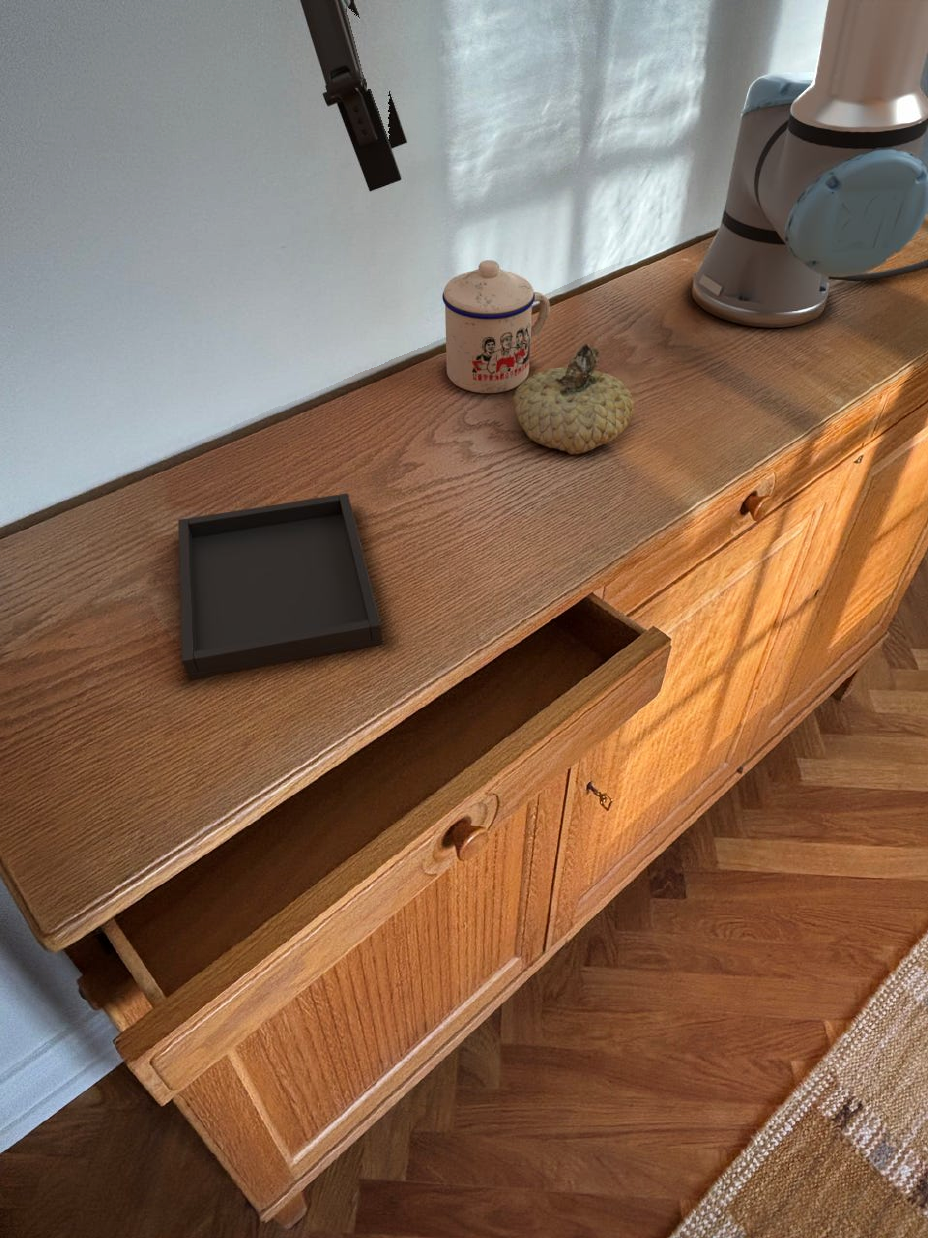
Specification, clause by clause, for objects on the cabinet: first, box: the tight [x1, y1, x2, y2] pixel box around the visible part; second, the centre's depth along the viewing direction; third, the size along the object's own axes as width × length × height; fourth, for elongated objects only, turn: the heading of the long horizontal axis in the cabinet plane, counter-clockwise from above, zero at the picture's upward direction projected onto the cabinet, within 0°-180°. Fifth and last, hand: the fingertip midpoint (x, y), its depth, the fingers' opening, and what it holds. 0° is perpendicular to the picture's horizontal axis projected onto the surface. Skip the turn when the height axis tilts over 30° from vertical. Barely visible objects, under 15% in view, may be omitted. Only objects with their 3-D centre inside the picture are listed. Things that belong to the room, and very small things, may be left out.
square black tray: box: [177, 493, 384, 681], centre depth 68 cm, size 14×16×2 cm
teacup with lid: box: [441, 259, 551, 394], centre depth 88 cm, size 12×9×12 cm
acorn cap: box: [513, 343, 636, 456], centre depth 83 cm, size 10×11×10 cm
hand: (389, 165), depth 75 cm, fingers open, 13 cm apart
